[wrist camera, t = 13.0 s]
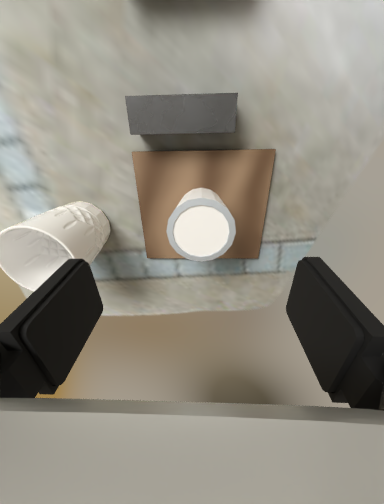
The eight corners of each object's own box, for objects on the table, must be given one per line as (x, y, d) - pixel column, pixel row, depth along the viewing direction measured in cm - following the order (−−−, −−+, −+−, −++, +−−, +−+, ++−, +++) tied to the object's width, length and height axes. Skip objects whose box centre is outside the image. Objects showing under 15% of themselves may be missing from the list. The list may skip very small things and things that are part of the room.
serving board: (274, 149, 23) (275, 149, 23) (257, 256, 30) (258, 258, 30) (133, 151, 24) (131, 152, 23) (148, 256, 31) (147, 258, 30)
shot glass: (185, 172, 24) (181, 185, 18) (237, 196, 26) (249, 215, 19) (166, 223, 28) (157, 248, 22) (213, 241, 29) (217, 270, 23)
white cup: (119, 250, 31) (86, 296, 22) (66, 248, 31) (13, 293, 22) (109, 197, 27) (66, 227, 18) (49, 195, 27) (-23, 224, 18)
